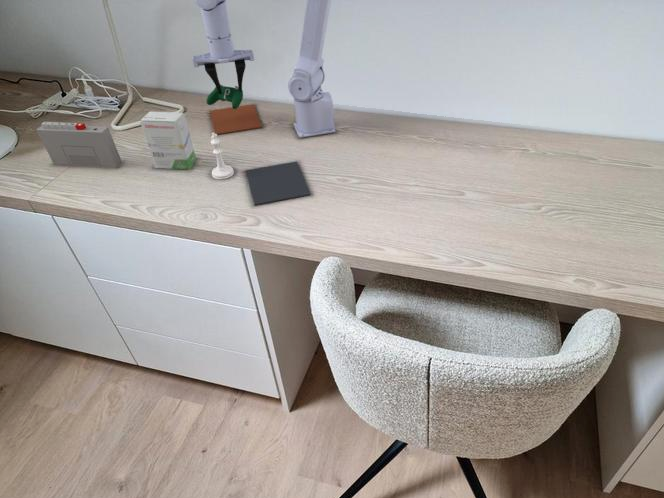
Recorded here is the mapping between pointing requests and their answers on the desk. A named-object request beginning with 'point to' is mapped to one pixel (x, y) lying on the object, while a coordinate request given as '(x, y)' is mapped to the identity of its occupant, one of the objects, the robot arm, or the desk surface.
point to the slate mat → (276, 183)
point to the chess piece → (220, 161)
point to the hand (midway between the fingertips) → (230, 91)
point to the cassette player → (79, 145)
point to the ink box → (168, 140)
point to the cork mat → (235, 119)
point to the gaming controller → (226, 96)
